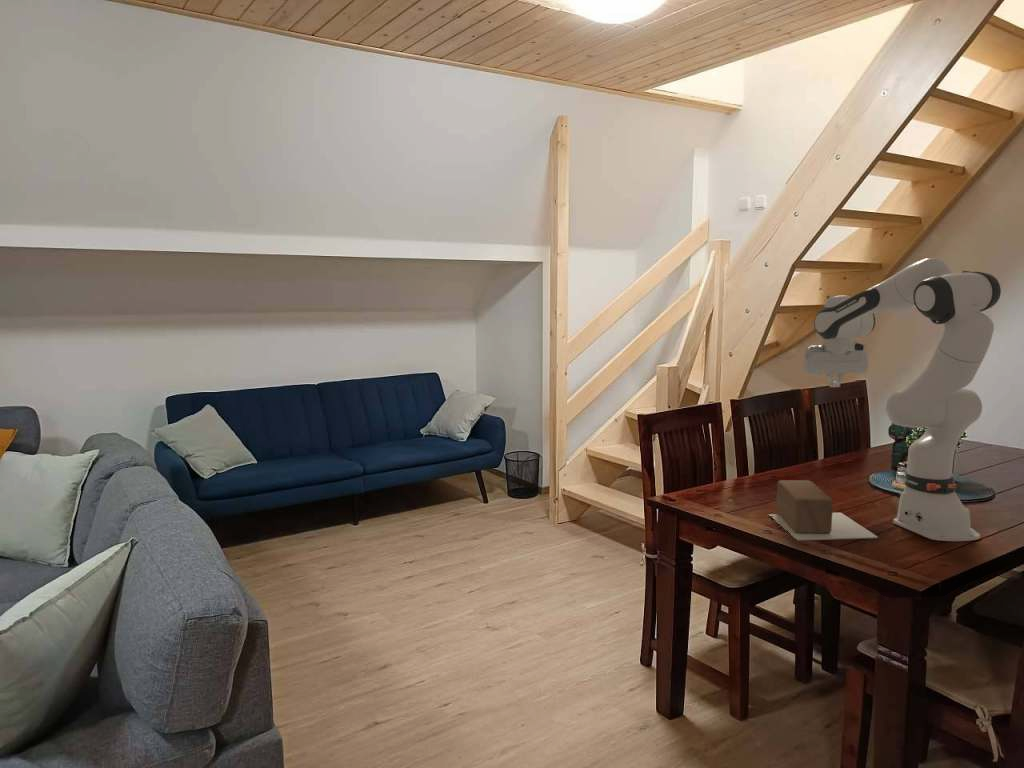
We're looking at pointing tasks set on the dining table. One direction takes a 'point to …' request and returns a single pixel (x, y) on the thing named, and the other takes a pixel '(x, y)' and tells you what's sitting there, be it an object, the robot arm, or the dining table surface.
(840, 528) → the mat
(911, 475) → the robot arm
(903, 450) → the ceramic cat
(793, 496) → the block
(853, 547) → the dining table surface
